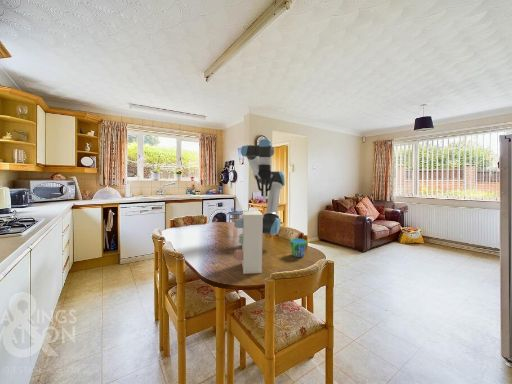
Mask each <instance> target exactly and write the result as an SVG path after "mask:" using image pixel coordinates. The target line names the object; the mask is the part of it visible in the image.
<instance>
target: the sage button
mask: <svg viewBox="0 0 512 384" xmlns="http://www.w3.org/2000/svg"><path fill="white" fill-rule="evenodd" d="M238 243H239V244H240V245H241V244H243V234H242V233H240V234H239V235H238Z"/></svg>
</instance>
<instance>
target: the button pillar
mask: <svg viewBox="0 0 512 384" xmlns="http://www.w3.org/2000/svg"><path fill="white" fill-rule="evenodd" d="M241 215H242V217H241V219H243V228H241V229H242V230H241V232H242V233H241V234H243V244H242V247H241V250H243V260H241V265H242V272H243V274H244V275H245V274H246V275H247V274H262V273H263V234H262V230H263V216H264V214H263V213H262V212H261V211H260V210H242V214H241Z"/></svg>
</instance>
